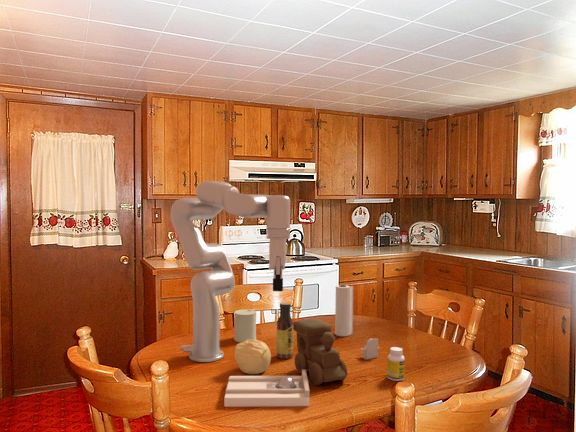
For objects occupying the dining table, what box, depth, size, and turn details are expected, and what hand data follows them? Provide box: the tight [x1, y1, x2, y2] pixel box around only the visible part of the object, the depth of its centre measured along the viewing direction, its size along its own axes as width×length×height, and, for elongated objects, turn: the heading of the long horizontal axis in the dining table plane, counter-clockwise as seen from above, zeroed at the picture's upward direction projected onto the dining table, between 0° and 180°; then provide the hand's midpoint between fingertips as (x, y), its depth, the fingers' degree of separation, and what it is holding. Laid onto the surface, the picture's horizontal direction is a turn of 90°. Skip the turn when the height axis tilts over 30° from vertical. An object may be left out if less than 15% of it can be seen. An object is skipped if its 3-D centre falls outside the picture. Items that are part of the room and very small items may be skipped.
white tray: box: [223, 370, 311, 408], centre depth 138 cm, size 24×16×4 cm, turn 92°
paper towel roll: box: [334, 284, 354, 337], centre depth 198 cm, size 7×6×21 cm
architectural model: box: [360, 337, 380, 360], centre depth 172 cm, size 3×7×7 cm, turn 124°
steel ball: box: [278, 375, 295, 389], centre depth 139 cm, size 5×5×5 cm
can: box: [233, 308, 257, 343], centre depth 191 cm, size 9×9×12 cm
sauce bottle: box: [275, 302, 294, 360], centre depth 171 cm, size 6×6×20 cm
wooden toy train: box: [292, 318, 348, 386], centre depth 152 cm, size 20×11×17 cm, turn 26°
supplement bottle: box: [386, 346, 406, 382], centre depth 151 cm, size 5×5×10 cm
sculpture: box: [234, 339, 272, 375], centre depth 156 cm, size 11×12×11 cm
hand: (277, 290), depth 148 cm, fingers closed
